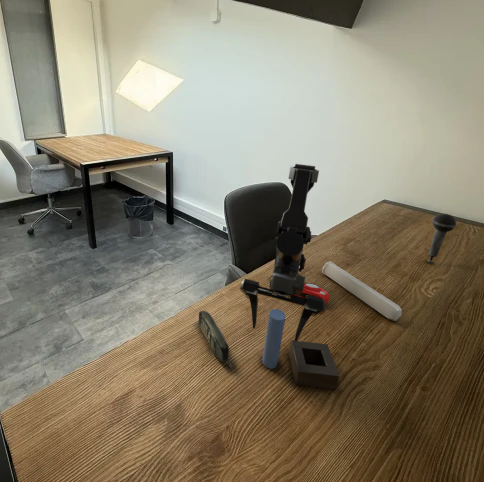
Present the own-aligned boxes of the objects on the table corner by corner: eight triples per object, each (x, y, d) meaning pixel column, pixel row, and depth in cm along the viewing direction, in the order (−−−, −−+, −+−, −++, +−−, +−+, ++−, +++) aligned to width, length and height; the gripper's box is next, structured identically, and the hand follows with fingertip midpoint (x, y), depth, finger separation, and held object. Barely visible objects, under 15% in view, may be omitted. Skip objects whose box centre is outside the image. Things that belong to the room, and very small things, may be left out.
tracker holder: (311, 280, 100) (337, 291, 91) (308, 293, 100) (334, 306, 91) (283, 280, 94) (307, 292, 85) (280, 294, 94) (305, 308, 85)
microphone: (421, 265, 113) (438, 216, 106) (416, 256, 119) (432, 209, 112) (443, 269, 110) (462, 220, 104) (437, 260, 116) (455, 212, 110)
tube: (409, 308, 84) (335, 261, 105) (399, 308, 81) (325, 260, 102) (400, 324, 85) (329, 275, 106) (390, 325, 83) (319, 274, 104)
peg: (259, 360, 71) (266, 312, 66) (269, 353, 73) (276, 306, 68) (270, 371, 68) (278, 322, 64) (280, 364, 70) (288, 316, 66)
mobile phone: (196, 310, 79) (224, 354, 66) (207, 307, 80) (236, 350, 67) (196, 325, 81) (223, 371, 68) (206, 322, 82) (234, 367, 69)
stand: (288, 352, 73) (291, 340, 72) (324, 356, 73) (327, 344, 71) (295, 384, 66) (298, 371, 64) (335, 389, 65) (339, 376, 64)
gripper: (245, 249, 70) (229, 318, 64) (332, 268, 64) (323, 348, 58) (249, 261, 80) (235, 323, 74) (325, 279, 73) (316, 348, 67)
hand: (274, 334), depth 68 cm, fingers open, 9 cm apart
